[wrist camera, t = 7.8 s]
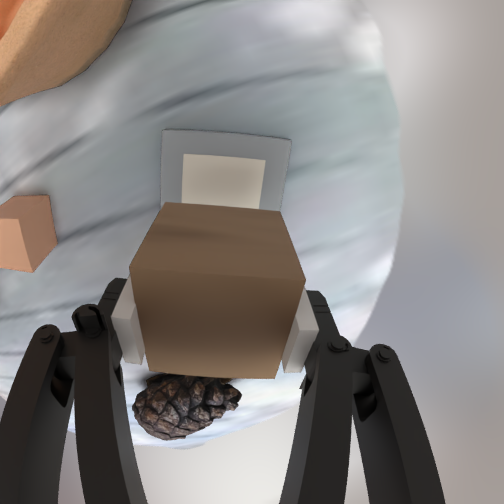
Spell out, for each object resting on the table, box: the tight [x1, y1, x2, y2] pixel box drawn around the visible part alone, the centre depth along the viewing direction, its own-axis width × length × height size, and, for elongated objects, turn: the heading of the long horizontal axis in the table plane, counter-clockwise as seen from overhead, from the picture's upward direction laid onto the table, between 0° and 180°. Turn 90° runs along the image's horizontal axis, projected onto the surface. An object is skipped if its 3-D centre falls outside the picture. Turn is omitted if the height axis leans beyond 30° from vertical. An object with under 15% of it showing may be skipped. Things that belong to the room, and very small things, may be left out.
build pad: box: [160, 129, 292, 211], centre depth 25 cm, size 11×11×1 cm
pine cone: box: [132, 373, 242, 441], centre depth 36 cm, size 10×18×10 cm, turn 122°
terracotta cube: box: [0, 195, 58, 273], centre depth 22 cm, size 6×6×6 cm
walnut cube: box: [129, 202, 306, 379], centre depth 13 cm, size 6×6×6 cm
